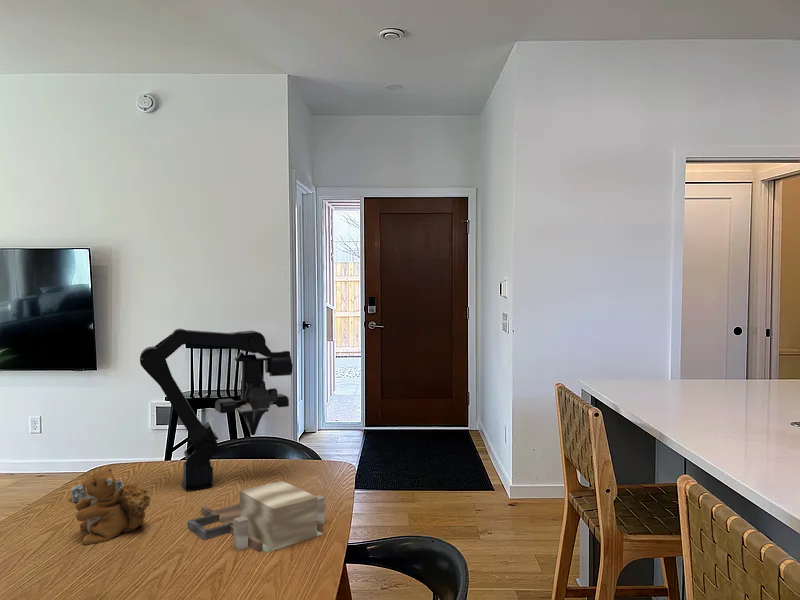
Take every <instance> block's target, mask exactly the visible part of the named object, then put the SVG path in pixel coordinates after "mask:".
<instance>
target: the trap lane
mask: <svg viewBox="0 0 800 600" xmlns="http://www.w3.org/2000/svg"><path fill="white" fill-rule="evenodd" d="M315 496H316V497H317V536H316V537H319V536H321V535H323V531H324V524H325V505H326V504H325V496H322V495H320V494H318V495H315ZM200 513H201V515H202V516H201V517H198V518H193V519H189V520H187V529H188V530H190V531H191V532H192V533H194V535H196V536H198V537H199V538H200V539H202V540H203V541H205V540H209V539H212V538H216V537H219V536H222V535H226V534H231V535H232V536H233V548H234V549H235V550H237V551H241V550H245V549H247V548H249V547H250V548H252V549H253V550H255V551H256V552H259V553H260V552H261V551H262V552H264V553H266V554H268V553H271V552H274V551H273V550H272V549H270V548H269V547H267V546H266V545H264V544H263V542H261V541H260V540H258V539H257V538H255V537H254V536H252V535H251V534H249V533H248V519H247V518H246V517H244V516H242V517H240V502H239V503H235V504H232V505H228V506H224V507H219V508H216V509H212V508H210V507H208V506H207V505H202V506H201V508H200ZM218 522H219V523H221V524H222V525H221V524H220V525H219V526H213V527H211V528H207V529H206V528H205V527H204V526H207V525H211V524H214V523H218Z"/></svg>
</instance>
